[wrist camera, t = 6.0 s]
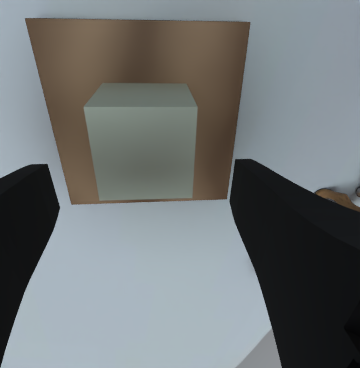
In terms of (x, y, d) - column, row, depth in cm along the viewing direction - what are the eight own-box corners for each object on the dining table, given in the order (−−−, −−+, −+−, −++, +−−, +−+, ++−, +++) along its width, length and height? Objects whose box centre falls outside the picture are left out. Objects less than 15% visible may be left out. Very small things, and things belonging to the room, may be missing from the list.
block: (186, 83, 16) (197, 106, 12) (183, 157, 19) (192, 198, 15) (102, 82, 16) (83, 106, 12) (112, 158, 18) (99, 200, 14)
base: (240, 21, 16) (250, 22, 15) (221, 185, 23) (226, 199, 21) (39, 18, 15) (24, 18, 14) (78, 190, 22) (71, 204, 20)
